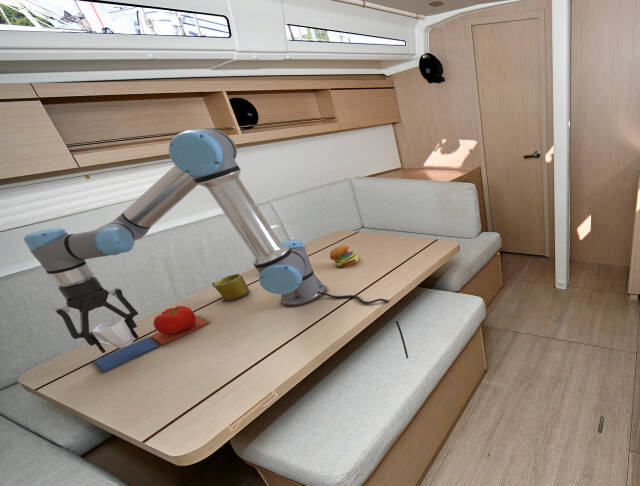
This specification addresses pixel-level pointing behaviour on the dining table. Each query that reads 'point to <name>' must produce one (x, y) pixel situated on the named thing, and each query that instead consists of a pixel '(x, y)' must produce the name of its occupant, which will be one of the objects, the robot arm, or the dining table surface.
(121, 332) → the cup
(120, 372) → the dining table surface
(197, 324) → the red mat
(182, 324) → the tomato
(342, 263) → the cheeseburger
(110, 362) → the blue mat
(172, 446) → the dining table surface
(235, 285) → the mug
